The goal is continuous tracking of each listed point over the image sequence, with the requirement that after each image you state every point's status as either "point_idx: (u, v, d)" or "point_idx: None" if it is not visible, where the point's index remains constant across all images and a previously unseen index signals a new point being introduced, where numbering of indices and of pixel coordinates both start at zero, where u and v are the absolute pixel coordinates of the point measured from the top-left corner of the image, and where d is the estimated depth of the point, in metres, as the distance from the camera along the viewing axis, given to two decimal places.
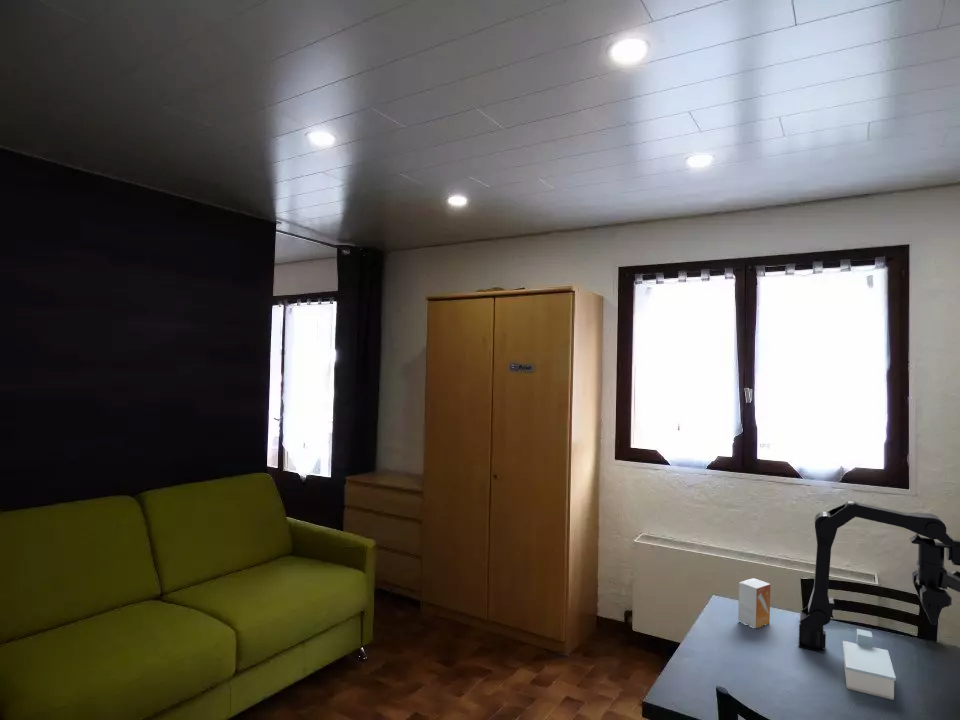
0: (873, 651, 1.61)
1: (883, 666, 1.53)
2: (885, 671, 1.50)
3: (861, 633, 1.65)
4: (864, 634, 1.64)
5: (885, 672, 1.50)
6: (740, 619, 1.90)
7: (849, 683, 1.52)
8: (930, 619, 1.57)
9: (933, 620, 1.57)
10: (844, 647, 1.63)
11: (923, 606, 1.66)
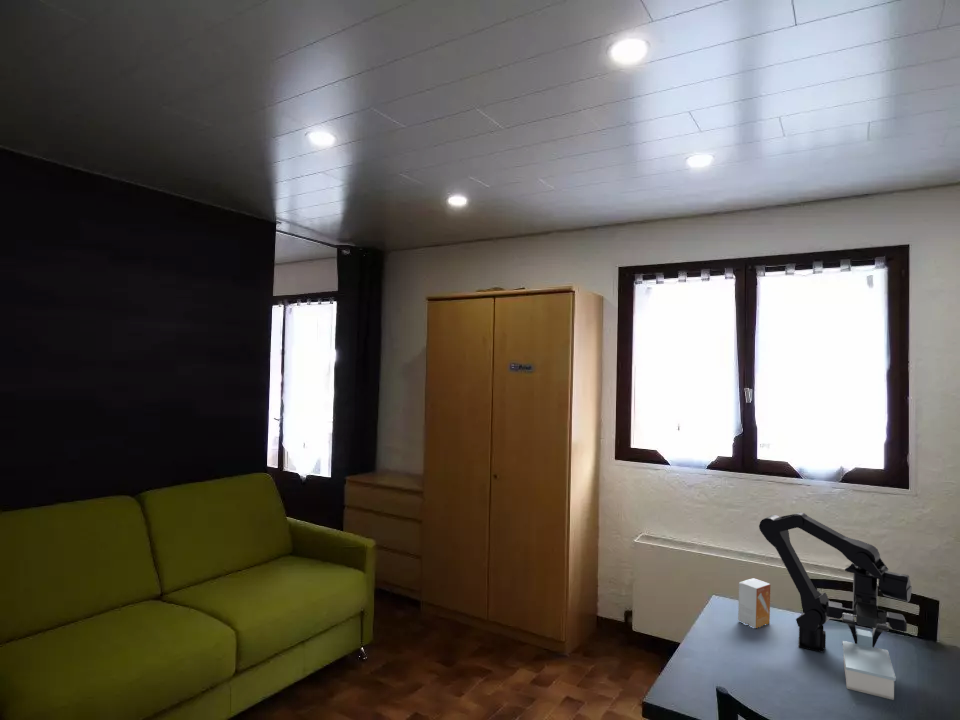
0: (873, 651, 1.61)
1: (883, 666, 1.53)
2: (885, 671, 1.50)
3: (861, 633, 1.65)
4: (864, 634, 1.64)
5: (885, 672, 1.50)
6: (740, 619, 1.90)
7: (849, 683, 1.52)
8: None
9: None
10: (844, 647, 1.63)
11: None
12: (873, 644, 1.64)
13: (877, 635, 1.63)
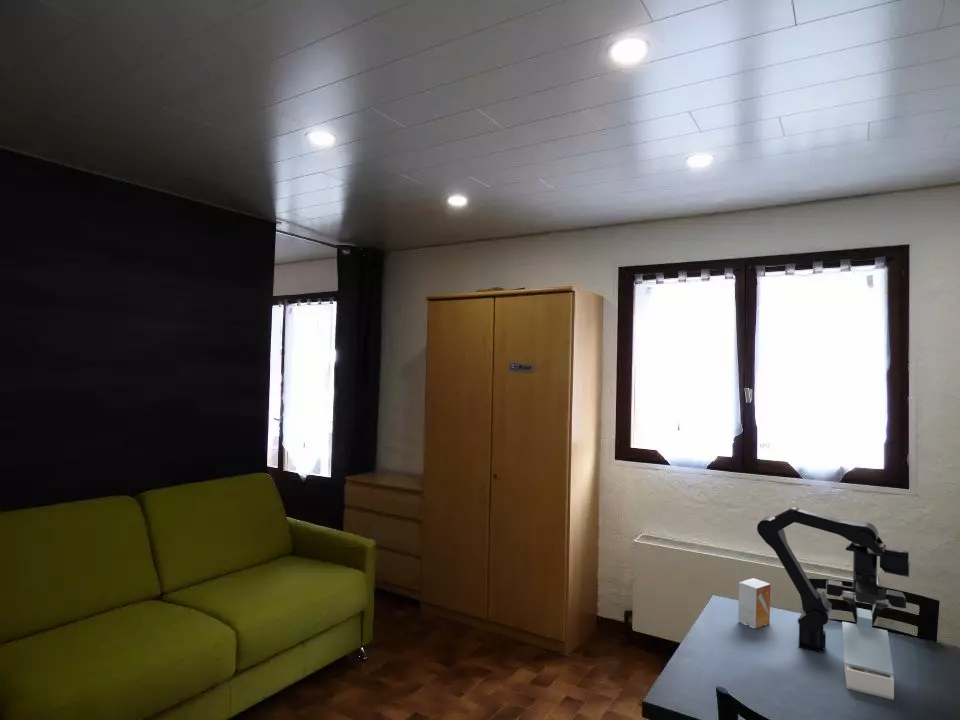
0: (872, 634, 1.62)
1: (881, 656, 1.55)
2: (883, 663, 1.52)
3: (861, 613, 1.66)
4: (864, 616, 1.65)
5: (883, 665, 1.52)
6: (740, 619, 1.90)
7: (849, 683, 1.52)
8: None
9: None
10: (844, 631, 1.64)
11: None
12: (873, 621, 1.65)
13: (877, 612, 1.65)
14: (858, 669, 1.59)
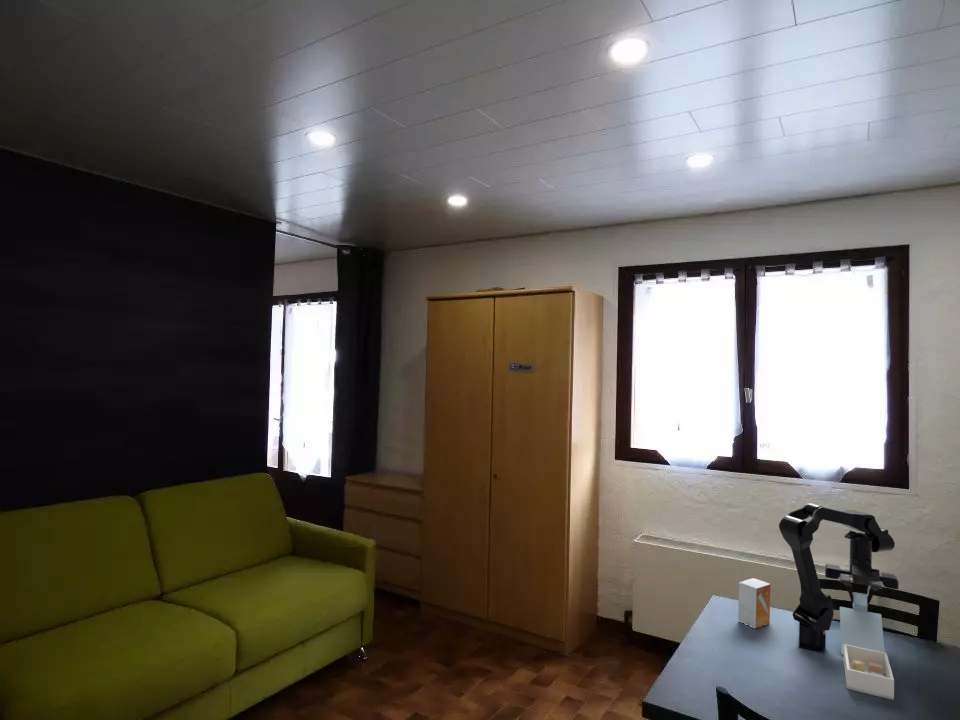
0: (867, 619, 1.76)
1: (875, 644, 1.69)
2: None
3: (857, 600, 1.80)
4: (860, 602, 1.79)
5: None
6: (740, 619, 1.90)
7: (849, 683, 1.52)
8: None
9: (851, 598, 1.82)
10: (841, 618, 1.79)
11: None
12: (868, 602, 1.79)
13: (871, 593, 1.78)
14: (858, 669, 1.59)
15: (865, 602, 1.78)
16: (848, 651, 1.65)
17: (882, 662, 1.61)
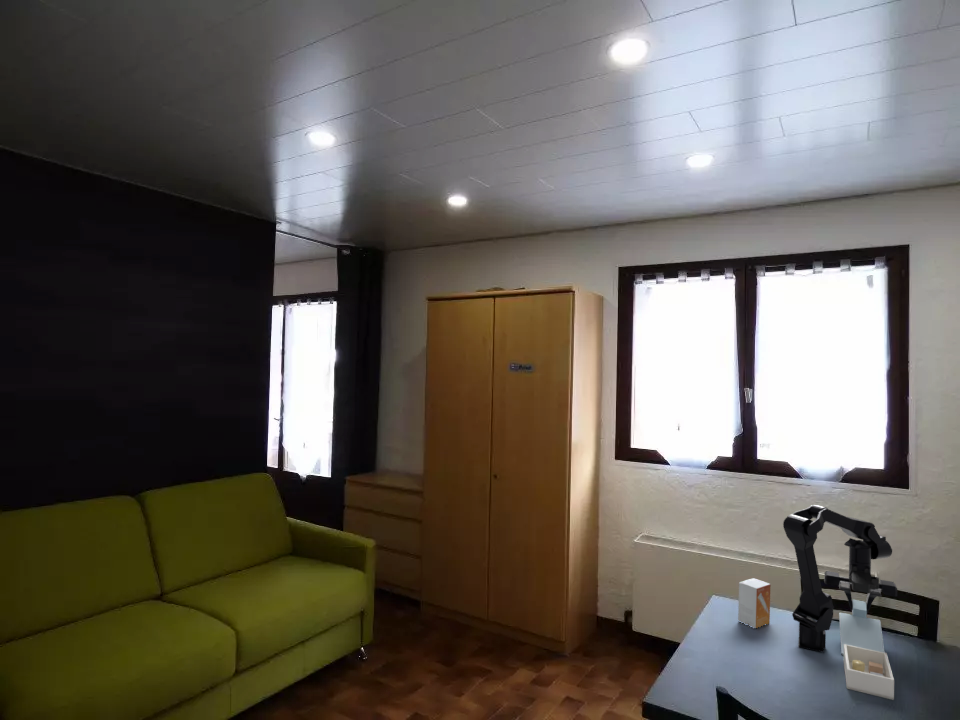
0: (867, 624, 1.78)
1: (875, 646, 1.70)
2: None
3: (857, 605, 1.81)
4: (859, 607, 1.80)
5: None
6: (740, 619, 1.90)
7: (849, 683, 1.52)
8: None
9: (850, 605, 1.83)
10: (840, 622, 1.80)
11: None
12: (867, 609, 1.80)
13: (871, 600, 1.80)
14: (858, 669, 1.59)
15: (864, 607, 1.80)
16: (848, 651, 1.65)
17: (882, 662, 1.61)
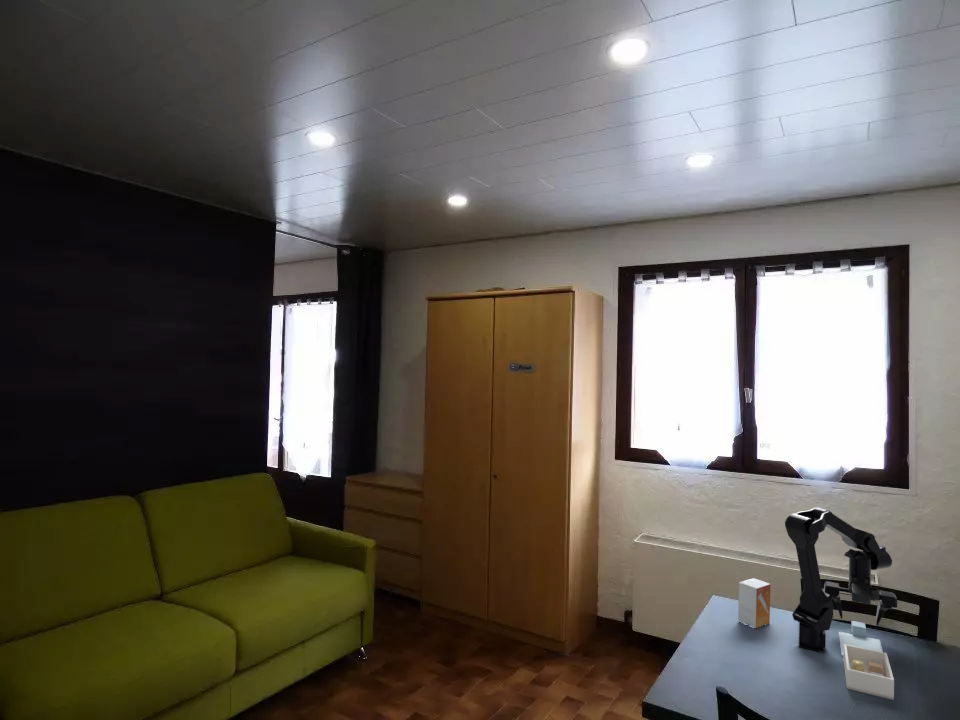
0: (866, 640, 1.78)
1: None
2: None
3: (856, 624, 1.83)
4: (858, 625, 1.82)
5: None
6: (740, 619, 1.90)
7: (849, 683, 1.52)
8: None
9: (840, 614, 1.84)
10: (840, 637, 1.80)
11: None
12: (877, 621, 1.79)
13: (881, 613, 1.78)
14: (858, 669, 1.59)
15: (863, 626, 1.81)
16: (848, 651, 1.65)
17: (882, 662, 1.61)
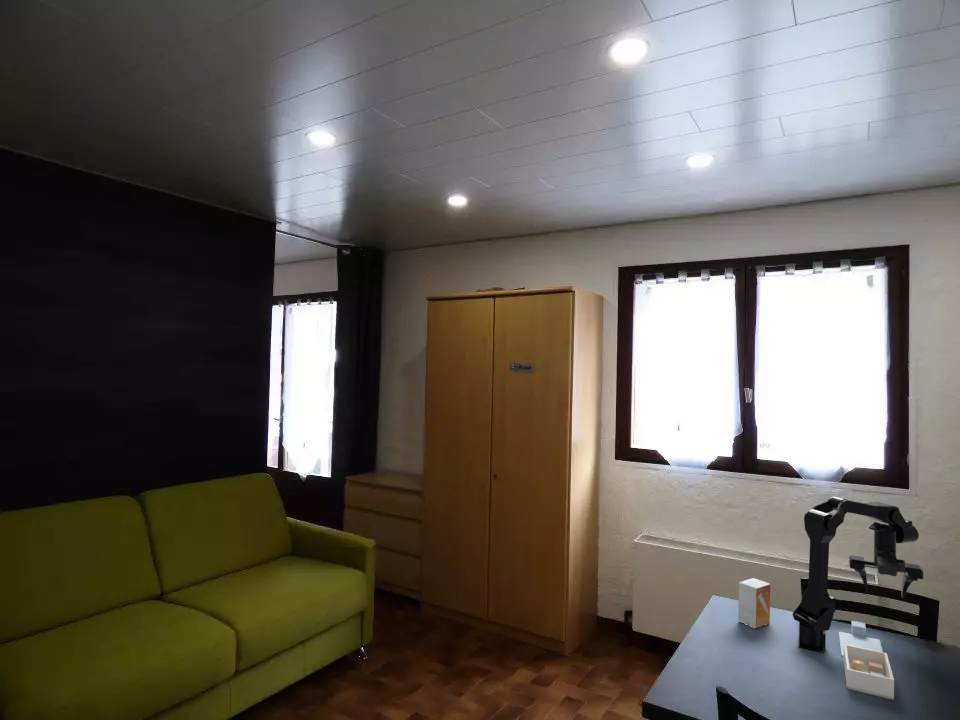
0: (866, 640, 1.78)
1: None
2: None
3: (856, 624, 1.83)
4: (858, 625, 1.82)
5: None
6: (740, 619, 1.90)
7: (849, 683, 1.52)
8: None
9: None
10: (840, 637, 1.80)
11: (901, 591, 1.82)
12: (903, 594, 1.80)
13: (907, 585, 1.79)
14: (858, 669, 1.59)
15: (863, 626, 1.81)
16: (848, 651, 1.65)
17: (882, 662, 1.61)
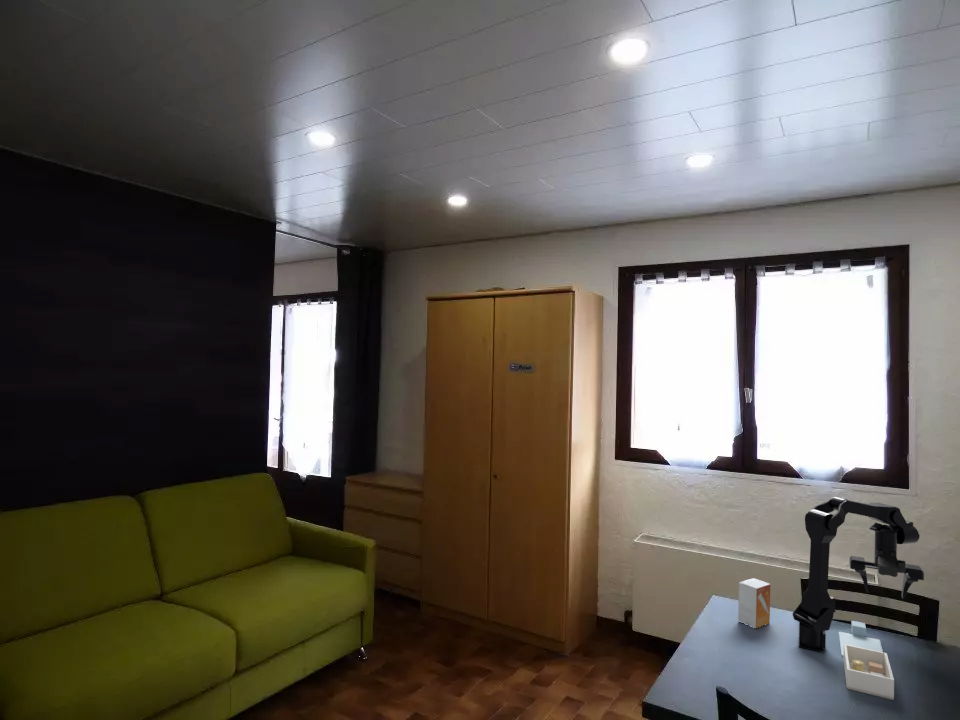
0: (866, 640, 1.78)
1: None
2: None
3: (856, 624, 1.83)
4: (858, 625, 1.82)
5: None
6: (740, 619, 1.90)
7: (849, 683, 1.52)
8: None
9: None
10: (840, 637, 1.80)
11: None
12: (904, 595, 1.80)
13: (907, 586, 1.79)
14: (858, 669, 1.59)
15: (863, 626, 1.81)
16: (848, 651, 1.65)
17: (882, 662, 1.61)
